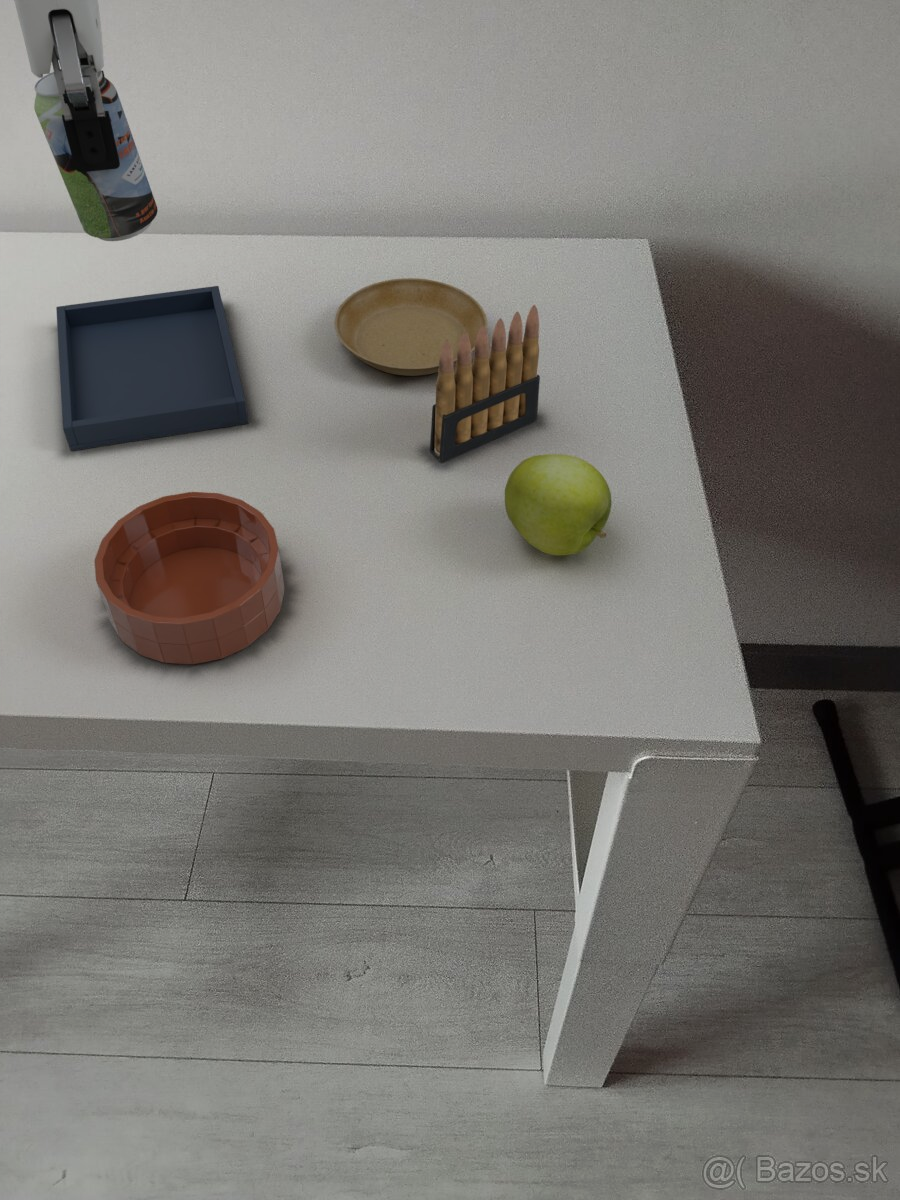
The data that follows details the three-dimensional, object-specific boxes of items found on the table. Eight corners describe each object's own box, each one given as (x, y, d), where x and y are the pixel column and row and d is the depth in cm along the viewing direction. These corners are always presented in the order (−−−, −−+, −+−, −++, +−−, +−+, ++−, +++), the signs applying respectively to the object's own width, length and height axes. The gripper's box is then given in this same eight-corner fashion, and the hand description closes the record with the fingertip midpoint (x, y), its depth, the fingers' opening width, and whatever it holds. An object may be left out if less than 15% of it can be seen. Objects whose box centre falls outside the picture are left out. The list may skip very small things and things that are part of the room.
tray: (70, 451, 91) (62, 428, 89) (63, 329, 103) (56, 306, 101) (248, 423, 94) (245, 400, 92) (222, 307, 106) (218, 285, 104)
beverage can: (152, 252, 82) (119, 97, 72) (58, 248, 82) (14, 92, 72) (168, 211, 86) (140, 59, 76) (79, 206, 86) (40, 54, 76)
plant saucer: (517, 343, 103) (518, 321, 101) (411, 411, 96) (411, 388, 94) (411, 283, 109) (410, 261, 107) (304, 342, 102) (302, 320, 100)
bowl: (116, 682, 75) (100, 639, 71) (105, 553, 83) (90, 508, 79) (297, 646, 78) (291, 603, 74) (269, 524, 86) (262, 479, 82)
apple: (577, 595, 82) (590, 523, 75) (483, 543, 85) (488, 470, 79) (628, 538, 86) (644, 466, 80) (536, 491, 89) (545, 418, 83)
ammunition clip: (525, 409, 96) (536, 296, 87) (537, 420, 95) (550, 307, 86) (429, 451, 92) (430, 337, 83) (440, 463, 91) (443, 349, 82)
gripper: (-31, -171, 70) (42, 102, 83) (-39, -87, 59) (47, 210, 73) (84, -175, 71) (138, 93, 85) (97, -95, 60) (156, 198, 74)
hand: (95, 145), depth 79 cm, fingers closed on beverage can, 6 cm apart
